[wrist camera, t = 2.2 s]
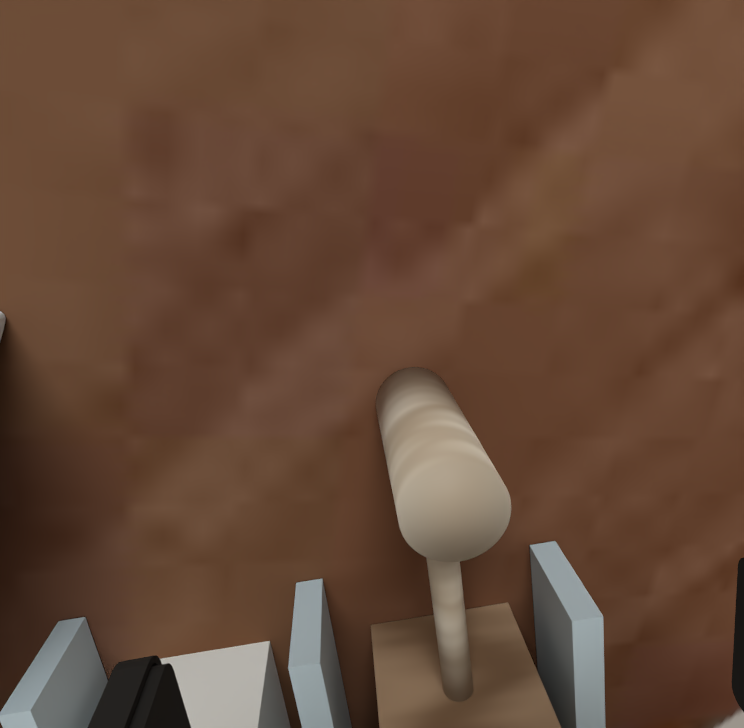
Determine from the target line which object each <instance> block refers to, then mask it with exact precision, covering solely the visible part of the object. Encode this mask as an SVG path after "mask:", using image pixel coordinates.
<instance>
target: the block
mask: <svg viewBox="0 0 744 728" xmlns="http://www.w3.org/2000/svg"><path fill="white" fill-rule="evenodd" d="M160 660H161V663H162V664H167V663H170V664H171V665H172V667H173V669H174V672H175V676H176V679H177V682H178V686H179V689H180V692H181V696H182V699H183V702H184V706H185V709H186V712H187V716H188V719H189V722H190V726H191V728H291V727H290V723H289V719H288V714H287V710H286V706H285V702H284V698H283V694H282V690H281V685H280V681H279V677H278V673H277V669H276V665H275V661H274V656H273V652H272V648H271V644H270V641H266V642H260V643H254V644H248V645H242V646H236V647H230V648H224V649H217V650H211V651H205V652H199V653H193V654H187V655H181V656H175V657H169V658H163V659H160Z"/></svg>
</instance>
